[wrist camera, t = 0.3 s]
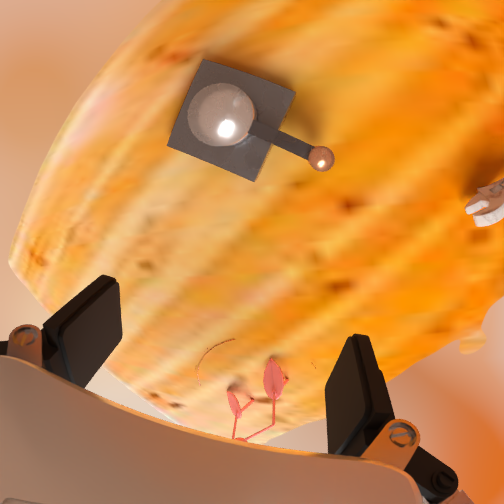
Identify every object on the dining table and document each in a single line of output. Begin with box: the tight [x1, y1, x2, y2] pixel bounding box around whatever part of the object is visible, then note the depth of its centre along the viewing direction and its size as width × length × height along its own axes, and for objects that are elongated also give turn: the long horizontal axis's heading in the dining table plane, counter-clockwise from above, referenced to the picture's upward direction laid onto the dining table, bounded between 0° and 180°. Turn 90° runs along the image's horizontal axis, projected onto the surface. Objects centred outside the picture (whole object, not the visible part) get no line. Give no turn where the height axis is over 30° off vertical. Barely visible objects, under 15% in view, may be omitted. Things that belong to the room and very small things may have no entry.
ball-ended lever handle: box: [188, 83, 335, 171], centre depth 30 cm, size 16×7×4 cm, turn 66°
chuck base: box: [167, 59, 296, 182], centre depth 33 cm, size 12×12×3 cm
